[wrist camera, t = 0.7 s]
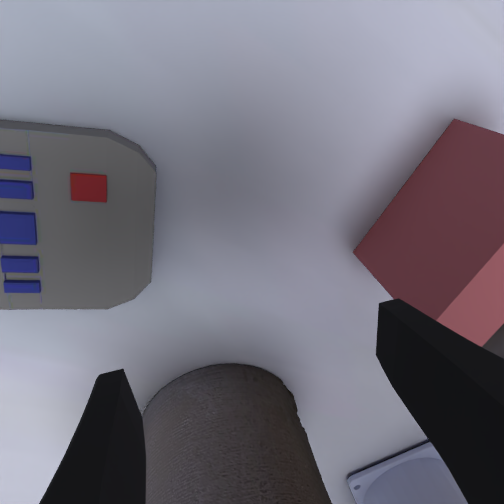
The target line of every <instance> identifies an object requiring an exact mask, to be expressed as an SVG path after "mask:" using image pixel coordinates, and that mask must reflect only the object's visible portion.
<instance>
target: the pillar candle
mask: <svg viewBox="0 0 504 504" xmlns="http://www.w3.org/2000/svg"><path fill="white" fill-rule="evenodd" d="M142 419H143V428H144V438H145V449H146V504H332V503H331V500H330V498H329V495H328V493H327V491H326V488H325V486H324V483H323V481H322V478H321V475H320V472H319V469H318V467H317V464H316V461H315V459H314V456H313V453H312V450H311V447H310V444H309V442H308V437H307V434H306V432H305V429H304V428H303V427H302V425H301V423H300V419H299V417H298V415H297V406H296V403H295V400H294V396H293V394H292V393H291V392H290V391H289V390H288V389H287V388H286V386H285V385H283V382H282V380H280V379H279V378H278V377H276V376H274V375H273V374H271V373H269V372H267V371H265V370H262V369H260V368H256V367H252V366H246V365H239V364H219V365H215V366H208V367H205V368H202V369H197V370H194V371H192V372H189V373H187V374H185V375H183V376H181V377H179V378H177V379H175V380H174V381H172V382H171V383H169V384H168V385H167V386H166V387H164V388H163V389H162V390H160V391H159V392H158V393H157V394H156V396H155V397H154V398H153V399H152V400H151V402H150V403H149V405H148V406H147V408H146V409H145V412H144V414H143V417H142Z"/></svg>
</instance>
